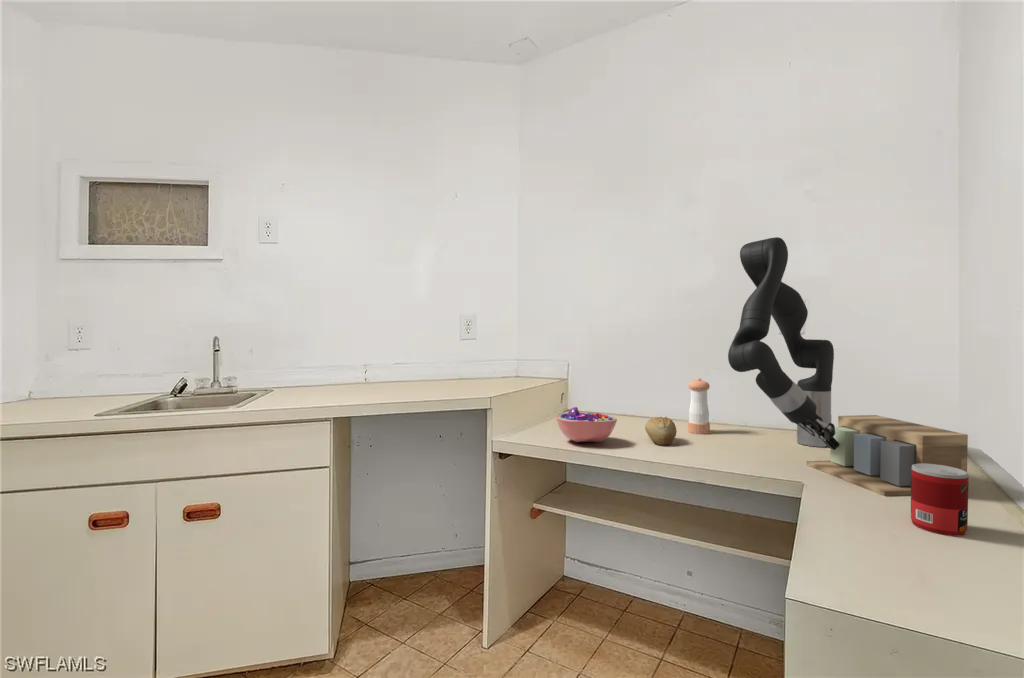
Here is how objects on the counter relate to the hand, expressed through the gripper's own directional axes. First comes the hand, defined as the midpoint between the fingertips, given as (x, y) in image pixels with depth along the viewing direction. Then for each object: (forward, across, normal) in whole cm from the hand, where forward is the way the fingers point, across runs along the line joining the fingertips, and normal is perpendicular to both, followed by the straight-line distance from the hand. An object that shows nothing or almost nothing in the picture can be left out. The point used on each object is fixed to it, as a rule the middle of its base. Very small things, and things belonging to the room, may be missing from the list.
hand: (835, 446), depth 129 cm
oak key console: (+8, -8, 0) cm, 11 cm away
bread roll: (-19, +36, +28) cm, 49 cm away
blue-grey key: (+7, -8, -1) cm, 11 cm away
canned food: (-2, -37, +11) cm, 39 cm away
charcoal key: (+7, -16, -1) cm, 18 cm away
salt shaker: (-5, +48, +14) cm, 50 cm away
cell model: (-36, +38, +45) cm, 69 cm away
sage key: (+7, 0, -1) cm, 7 cm away
